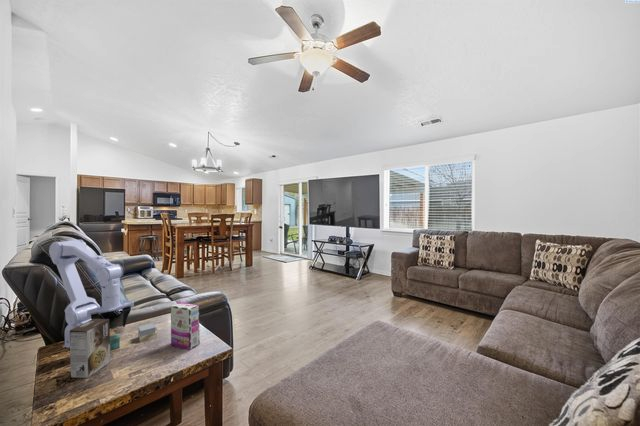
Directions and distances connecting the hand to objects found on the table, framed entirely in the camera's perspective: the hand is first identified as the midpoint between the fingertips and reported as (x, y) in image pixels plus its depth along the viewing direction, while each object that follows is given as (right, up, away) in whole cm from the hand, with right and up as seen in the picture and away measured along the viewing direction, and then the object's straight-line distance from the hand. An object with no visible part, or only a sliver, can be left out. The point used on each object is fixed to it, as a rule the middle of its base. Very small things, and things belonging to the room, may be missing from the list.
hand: (111, 328), depth 103 cm
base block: (+8, -8, +9) cm, 15 cm away
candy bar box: (+28, -8, +3) cm, 30 cm away
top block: (+8, -6, +9) cm, 13 cm away
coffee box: (+4, -8, -14) cm, 16 cm away
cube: (0, -8, 0) cm, 8 cm away
